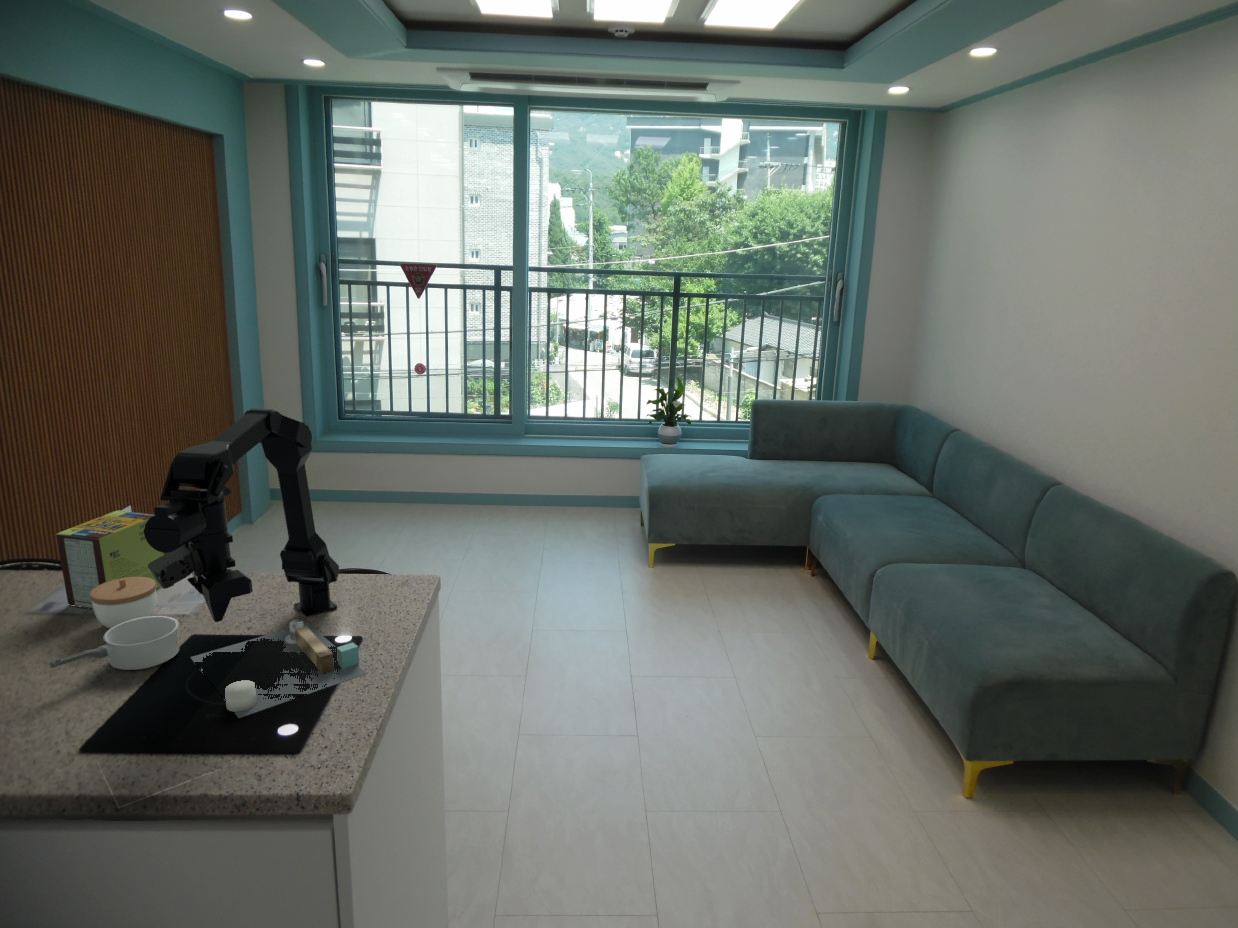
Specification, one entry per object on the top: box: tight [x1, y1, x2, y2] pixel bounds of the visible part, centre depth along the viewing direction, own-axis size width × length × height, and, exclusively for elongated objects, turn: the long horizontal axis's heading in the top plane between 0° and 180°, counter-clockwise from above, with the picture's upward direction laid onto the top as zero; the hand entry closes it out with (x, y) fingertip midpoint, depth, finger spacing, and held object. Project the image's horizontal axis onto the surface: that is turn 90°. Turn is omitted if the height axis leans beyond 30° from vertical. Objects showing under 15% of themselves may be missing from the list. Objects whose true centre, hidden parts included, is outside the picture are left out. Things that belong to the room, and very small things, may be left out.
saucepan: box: [48, 615, 180, 671], centre depth 139 cm, size 12×20×6 cm, turn 147°
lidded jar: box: [90, 577, 158, 630], centre depth 154 cm, size 11×11×9 cm
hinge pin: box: [285, 618, 304, 644], centre depth 151 cm, size 4×4×4 cm
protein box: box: [55, 509, 165, 610], centre depth 167 cm, size 10×15×16 cm
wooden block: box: [295, 626, 334, 673], centre depth 144 cm, size 13×2×3 cm, turn 39°
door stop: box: [225, 680, 257, 712], centre depth 129 cm, size 4×4×3 cm
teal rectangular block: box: [336, 641, 360, 669], centre depth 142 cm, size 2×3×4 cm, turn 132°
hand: (217, 620), depth 132 cm, fingers closed
